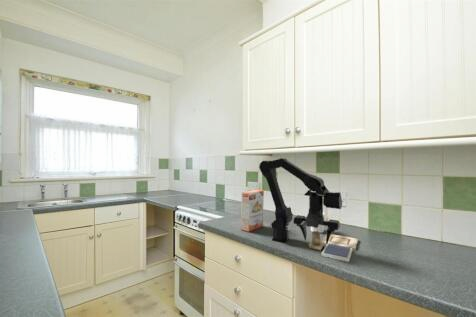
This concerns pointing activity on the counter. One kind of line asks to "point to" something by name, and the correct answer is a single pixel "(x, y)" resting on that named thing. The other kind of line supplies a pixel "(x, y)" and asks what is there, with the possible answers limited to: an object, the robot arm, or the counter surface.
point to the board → (341, 241)
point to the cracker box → (252, 210)
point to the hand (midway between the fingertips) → (316, 241)
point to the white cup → (319, 226)
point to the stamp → (316, 241)
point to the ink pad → (337, 252)
